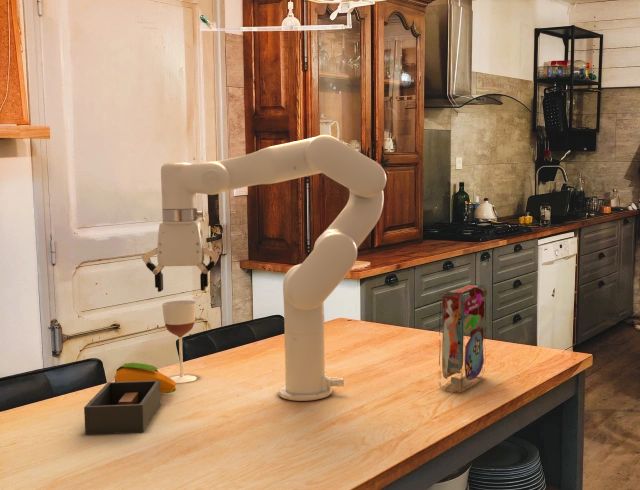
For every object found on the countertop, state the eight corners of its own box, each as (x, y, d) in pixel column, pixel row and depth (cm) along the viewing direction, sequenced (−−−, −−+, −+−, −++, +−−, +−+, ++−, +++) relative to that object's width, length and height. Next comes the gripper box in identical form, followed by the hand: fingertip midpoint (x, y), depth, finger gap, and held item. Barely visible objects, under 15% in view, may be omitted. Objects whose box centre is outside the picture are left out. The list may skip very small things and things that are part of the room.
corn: (129, 355, 195) (187, 364, 185) (132, 384, 197) (189, 395, 187) (105, 363, 189) (163, 373, 179) (108, 393, 190) (166, 405, 180)
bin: (160, 404, 180) (160, 380, 179) (143, 432, 161) (142, 405, 160) (108, 406, 178) (107, 382, 178) (85, 434, 159) (83, 407, 159)
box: (476, 368, 212) (477, 279, 210) (497, 370, 209) (498, 281, 207) (438, 391, 190) (438, 292, 188) (461, 394, 187) (462, 294, 185)
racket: (150, 404, 177) (150, 391, 177) (136, 425, 162) (135, 411, 162) (114, 405, 176) (113, 393, 176) (96, 427, 161) (95, 413, 161)
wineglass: (158, 381, 199) (155, 304, 197) (180, 373, 207) (177, 299, 205) (183, 384, 196) (181, 306, 194) (204, 376, 204) (202, 301, 202)
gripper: (219, 215, 183) (221, 287, 185) (144, 216, 181) (146, 288, 183) (216, 217, 175) (218, 292, 177) (137, 218, 173) (139, 293, 175)
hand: (181, 290), depth 180 cm, fingers open, 9 cm apart
